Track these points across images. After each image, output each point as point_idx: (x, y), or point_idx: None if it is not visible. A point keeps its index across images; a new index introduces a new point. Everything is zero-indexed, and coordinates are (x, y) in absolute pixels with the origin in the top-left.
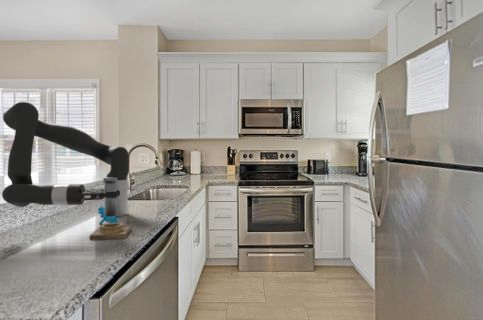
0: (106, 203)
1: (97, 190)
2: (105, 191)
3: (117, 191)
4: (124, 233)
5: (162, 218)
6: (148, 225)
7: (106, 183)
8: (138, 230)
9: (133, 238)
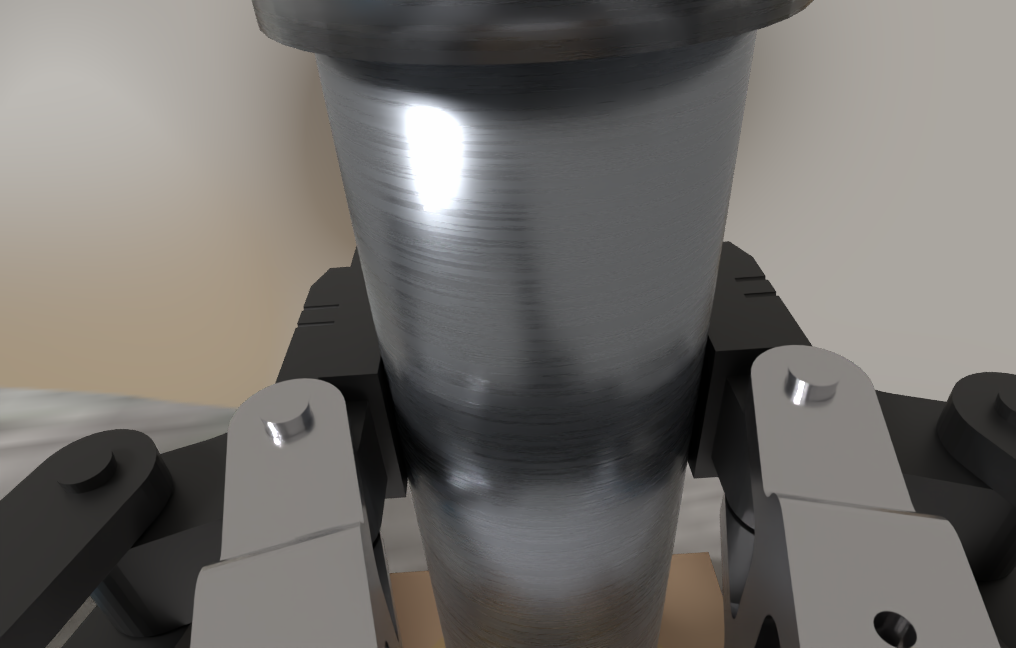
0: (667, 580)
1: (945, 543)
2: (686, 382)
3: None
4: (692, 564)
5: (9, 411)
6: None
7: (747, 85)
8: (415, 522)
9: (704, 508)
